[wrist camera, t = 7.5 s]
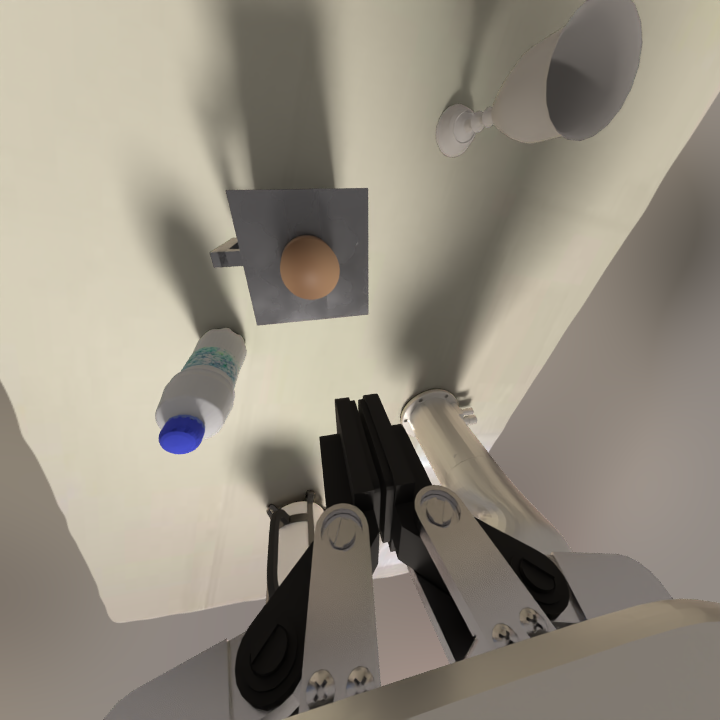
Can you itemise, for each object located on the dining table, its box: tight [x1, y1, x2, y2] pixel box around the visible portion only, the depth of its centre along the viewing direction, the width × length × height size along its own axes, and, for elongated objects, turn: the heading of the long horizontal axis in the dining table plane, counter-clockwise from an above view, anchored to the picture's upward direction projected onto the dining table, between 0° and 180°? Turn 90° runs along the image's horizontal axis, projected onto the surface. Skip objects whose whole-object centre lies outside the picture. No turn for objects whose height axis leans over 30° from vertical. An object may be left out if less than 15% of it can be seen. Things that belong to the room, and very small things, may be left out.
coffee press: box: [266, 490, 325, 603], centre depth 51 cm, size 17×16×30 cm
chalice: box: [436, 0, 642, 157], centre depth 25 cm, size 7×7×18 cm
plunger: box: [280, 235, 340, 300], centre depth 26 cm, size 7×7×19 cm
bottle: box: [155, 328, 246, 454], centre depth 32 cm, size 7×7×20 cm
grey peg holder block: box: [210, 188, 368, 325], centre depth 28 cm, size 13×10×17 cm
